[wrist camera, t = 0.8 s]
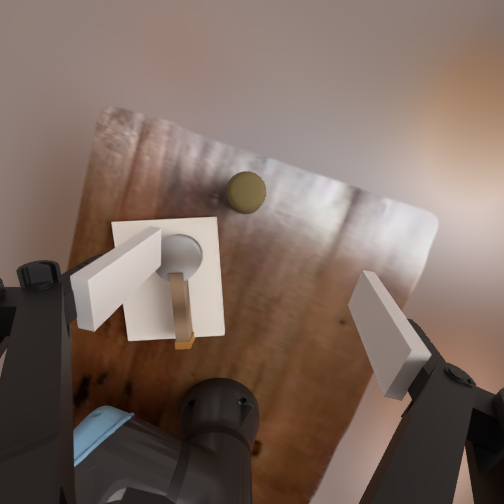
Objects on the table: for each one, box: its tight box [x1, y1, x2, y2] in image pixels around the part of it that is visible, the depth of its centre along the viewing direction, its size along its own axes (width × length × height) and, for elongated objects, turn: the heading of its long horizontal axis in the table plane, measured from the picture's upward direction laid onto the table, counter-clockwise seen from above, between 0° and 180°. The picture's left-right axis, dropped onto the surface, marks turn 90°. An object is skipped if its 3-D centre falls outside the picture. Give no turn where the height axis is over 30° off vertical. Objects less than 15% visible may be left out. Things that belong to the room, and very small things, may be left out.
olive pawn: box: [227, 172, 266, 214], centre depth 36 cm, size 6×6×11 cm
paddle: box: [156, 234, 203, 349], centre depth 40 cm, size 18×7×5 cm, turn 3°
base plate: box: [111, 217, 225, 341], centre depth 43 cm, size 21×17×2 cm
